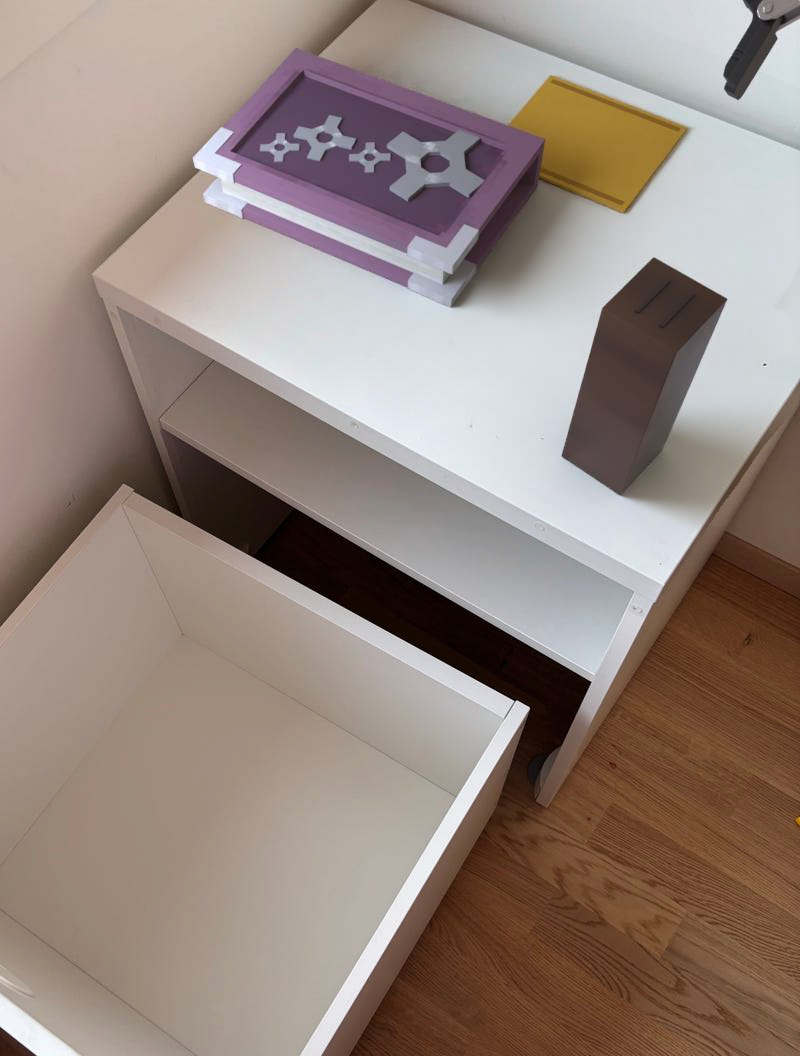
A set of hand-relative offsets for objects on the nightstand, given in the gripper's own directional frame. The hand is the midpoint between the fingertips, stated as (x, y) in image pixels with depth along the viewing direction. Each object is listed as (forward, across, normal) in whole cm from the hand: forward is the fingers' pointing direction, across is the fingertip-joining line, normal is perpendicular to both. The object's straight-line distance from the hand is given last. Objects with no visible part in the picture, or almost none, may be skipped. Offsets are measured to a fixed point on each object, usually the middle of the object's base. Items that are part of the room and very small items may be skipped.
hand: (793, 125), depth 59 cm
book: (+17, -32, +14) cm, 39 cm away
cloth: (+5, -22, +26) cm, 35 cm away
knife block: (+23, 0, +8) cm, 24 cm away
